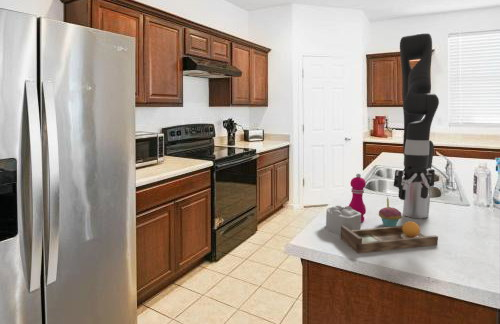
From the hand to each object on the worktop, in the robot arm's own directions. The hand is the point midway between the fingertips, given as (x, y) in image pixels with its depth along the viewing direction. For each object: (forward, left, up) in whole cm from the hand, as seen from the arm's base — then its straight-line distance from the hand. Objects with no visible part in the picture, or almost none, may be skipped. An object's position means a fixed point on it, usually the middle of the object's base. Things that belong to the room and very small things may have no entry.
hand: (412, 198), depth 115 cm
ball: (0, 0, -11) cm, 11 cm away
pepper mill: (+8, -23, -15) cm, 29 cm away
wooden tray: (+9, 0, -15) cm, 17 cm away
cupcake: (-2, -15, -15) cm, 21 cm away
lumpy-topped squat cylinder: (+19, -15, -15) cm, 29 cm away
